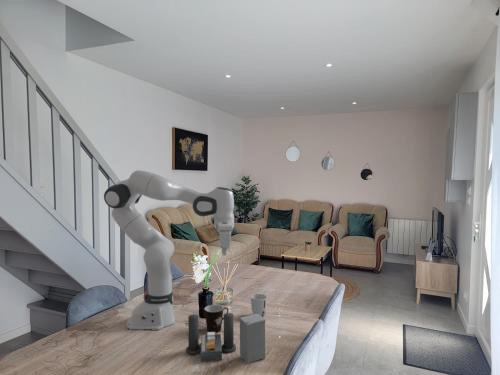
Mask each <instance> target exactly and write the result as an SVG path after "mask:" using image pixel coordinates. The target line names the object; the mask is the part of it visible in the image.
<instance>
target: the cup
mask: <svg viewBox="0 0 500 375" xmlns="http://www.w3.org/2000/svg"><path fill="white" fill-rule="evenodd" d="M267 304H268V296H267V295H266V294H264V293H255V294H252V295H250V306H251V310H252V311H251V312H252V315H253V314H257V313H258V314H259V315H260V316H261V317H263V318H264V317H265V316H266V315H265V314H266V312H267Z"/></svg>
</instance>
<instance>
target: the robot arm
mask: <svg viewBox="0 0 500 375" xmlns="http://www.w3.org/2000/svg"><path fill="white" fill-rule="evenodd" d="M142 196H144V197H147V198H149V199H152V200H156V201H181V202H184V203H187V204H190V205H192V210H193V212H194V213H195V214H196V215H197V216H199V217H208V216H213V219H214V222H213V224H214V225H213V226H214V229H216V231H217V233H218V234H219V238H218V239H219V244H220V249H221V253H222V254H221V255H222V256H226V255H227V252H228V250H229V249H230V246H231V240H232V231H233V229H234V228H235V215H234V209H235V199H234V192H233V190H232V189H230V188H227V187H223V186H217V187H215V188H214V189H213V190H211V191H209V192H206V193H201V192H198V191H196V190H193V189H190V188H187V187H184V186H181V185H180V184H177V183H175V182H173V181H172V180H170V179H168V178H166V177H164V176H161V175H159V174H156V173H154V172H150V171H146V170H145V171H144V170H141V169H140V170H139V169H137V170H135V171H133V172H131V174H130V175H129V177H128V179H127V178H126V179H125V180H122V181H118V182H117V183H115V184H114V185H111V186H109V187H108V188H106V190H105V191H104V192H103V200H104V202H105V204H106V205H107V206H108V207H109V208H112V209H111V217H112V218H113V220H114V222H115V223H116V224H117V226H118V227H119V228H120V229H121V230H122V231H123V233H125V235H126V236H127V237H128V238H129V239H130V240H131V241H132V242H133V243H134V244H135V245H138V246H140V247H141V248H142V249H144V250H145V251H144V254H143V261H144V264H145V267H146V273H147V284H148V285H147V286H148V289H147V290H146V291H145V292H144V295H143V301H142V302H141V303H140V304H138V305H137V306H136V307H134V309H133V311H132V313H131V316H130V317H129V318H128V319H127V321H126V326H127V327H126V326H125V327H126V329H128V328H129V329H128V330H144V329H152V330H153V331H159V330H162V329H163V328H165V327H168V326H170V325H173V324H174V323H175V322H176V316H175V312H174V291H173V274H172V272H171V266H170V260H171V258H172V257H173V255H174V252H175V245H174V242H173V241H172V240H170V239H169V238H167V237H166V236H165V235H163V234H162V233H161V232H160V231H159V230H157V229H156V228H154V226H152V224H150V222H149V221H148V220H147V219H146V218H145V217H144V216H143V215H142V213H140V212H139V211H138V210H137V208H136V204H138V203H139V201H140V199H141V197H142ZM152 330H151V331H152Z"/></svg>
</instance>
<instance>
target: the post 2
mask: <svg viewBox="0 0 500 375" xmlns="http://www.w3.org/2000/svg"><path fill="white" fill-rule="evenodd" d="M223 317H224V319H223V344H221V345H222V353H224V354H225V353H226V354H231V353H234V352H235V351H236V350H237V345H236V344H235V343H234V342H235V341H234V335H235V333H234V331H235V330H234V324H235V323H234V314H233V313H231V312H228V313H227V312H225V313H223Z"/></svg>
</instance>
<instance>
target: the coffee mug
mask: <svg viewBox="0 0 500 375" xmlns="http://www.w3.org/2000/svg"><path fill="white" fill-rule="evenodd" d="M224 310H226V313H229V308H228V307H225V306H223V305H220V304H209V305H207V306H205V307H204V316H205V324H206V331H207V332H215V334H219V333H220V332H221V331H222V324H223V321H224Z"/></svg>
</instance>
